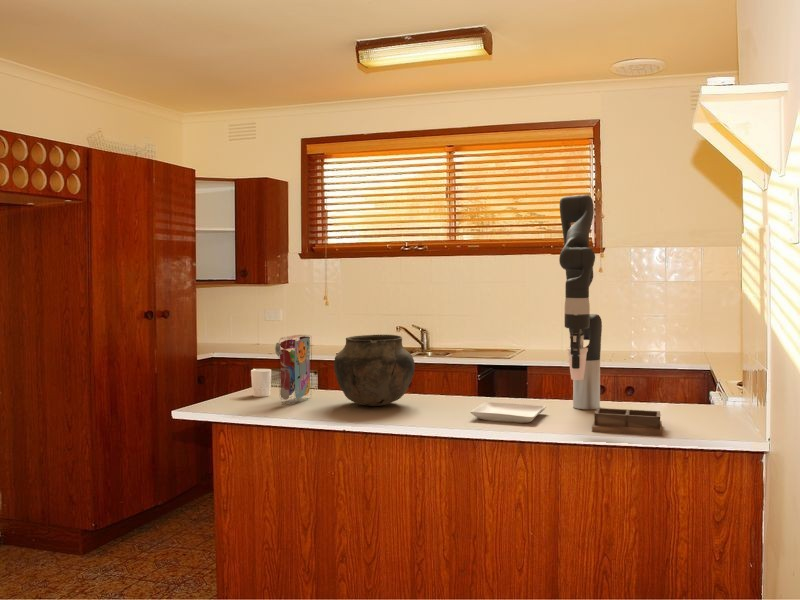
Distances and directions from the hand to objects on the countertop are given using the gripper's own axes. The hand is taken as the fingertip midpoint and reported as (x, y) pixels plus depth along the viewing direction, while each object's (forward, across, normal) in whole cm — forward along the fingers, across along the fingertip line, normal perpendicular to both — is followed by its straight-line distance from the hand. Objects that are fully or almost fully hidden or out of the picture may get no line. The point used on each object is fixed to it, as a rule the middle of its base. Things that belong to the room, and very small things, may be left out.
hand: (576, 366), depth 232 cm
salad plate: (+20, -11, -23) cm, 32 cm away
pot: (+19, -17, -73) cm, 77 cm away
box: (+19, -12, -104) cm, 107 cm away
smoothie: (+4, 0, 0) cm, 4 cm away
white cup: (+19, -24, -123) cm, 127 cm away
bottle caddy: (+19, -4, +15) cm, 24 cm away
